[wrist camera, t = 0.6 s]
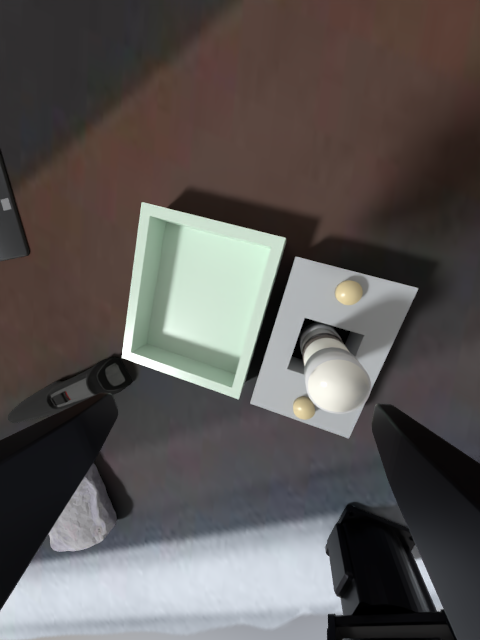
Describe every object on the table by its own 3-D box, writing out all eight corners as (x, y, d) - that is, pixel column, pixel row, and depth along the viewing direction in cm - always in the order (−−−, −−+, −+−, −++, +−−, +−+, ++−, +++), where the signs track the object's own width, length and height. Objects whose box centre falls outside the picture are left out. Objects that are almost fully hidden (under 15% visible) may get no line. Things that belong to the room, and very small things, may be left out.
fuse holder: (397, 284, 18) (423, 289, 14) (340, 414, 21) (350, 444, 17) (294, 258, 19) (296, 256, 15) (255, 385, 22) (248, 407, 18)
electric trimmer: (27, 391, 29) (-4, 406, 26) (119, 352, 25) (95, 364, 22) (42, 417, 29) (14, 434, 26) (136, 383, 25) (114, 399, 22)
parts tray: (286, 242, 19) (285, 238, 16) (245, 382, 22) (238, 399, 19) (162, 211, 20) (141, 201, 17) (142, 346, 23) (121, 357, 21)
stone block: (90, 430, 30) (30, 464, 31) (62, 457, 25) (-9, 496, 26) (141, 499, 32) (82, 530, 33) (123, 537, 27) (54, 572, 28)
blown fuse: (344, 328, 19) (381, 369, 11) (330, 363, 20) (357, 421, 12) (306, 317, 20) (317, 349, 12) (294, 351, 20) (298, 401, 13)
